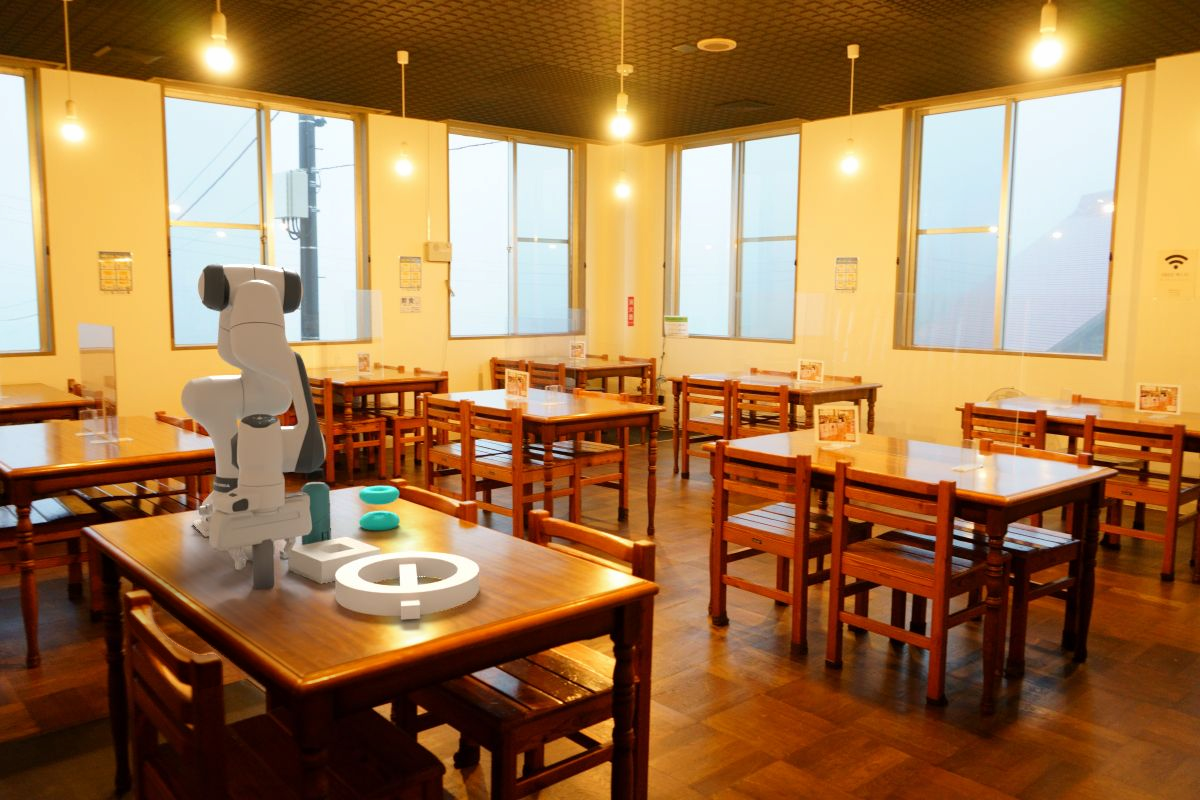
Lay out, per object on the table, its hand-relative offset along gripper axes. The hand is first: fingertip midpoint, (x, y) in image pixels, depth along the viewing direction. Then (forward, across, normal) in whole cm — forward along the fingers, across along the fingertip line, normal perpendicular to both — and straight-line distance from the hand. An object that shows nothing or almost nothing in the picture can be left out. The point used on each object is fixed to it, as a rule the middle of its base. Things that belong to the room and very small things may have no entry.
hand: (263, 563), depth 184 cm
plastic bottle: (+5, -8, -18) cm, 20 cm away
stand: (+5, -16, 0) cm, 17 cm away
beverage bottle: (+5, -19, -13) cm, 24 cm away
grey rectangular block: (+5, 0, 0) cm, 5 cm away
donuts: (+5, -44, -26) cm, 51 cm away
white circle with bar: (+5, -19, +23) cm, 30 cm away
